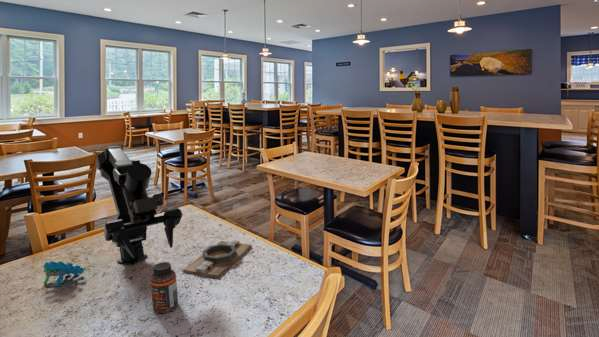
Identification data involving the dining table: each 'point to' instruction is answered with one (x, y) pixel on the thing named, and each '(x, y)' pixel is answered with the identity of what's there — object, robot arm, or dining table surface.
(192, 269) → the octagonal bottle holder
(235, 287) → the dining table surface
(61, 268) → the teal plastic irregular piece
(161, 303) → the supplement bottle
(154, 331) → the dining table surface
